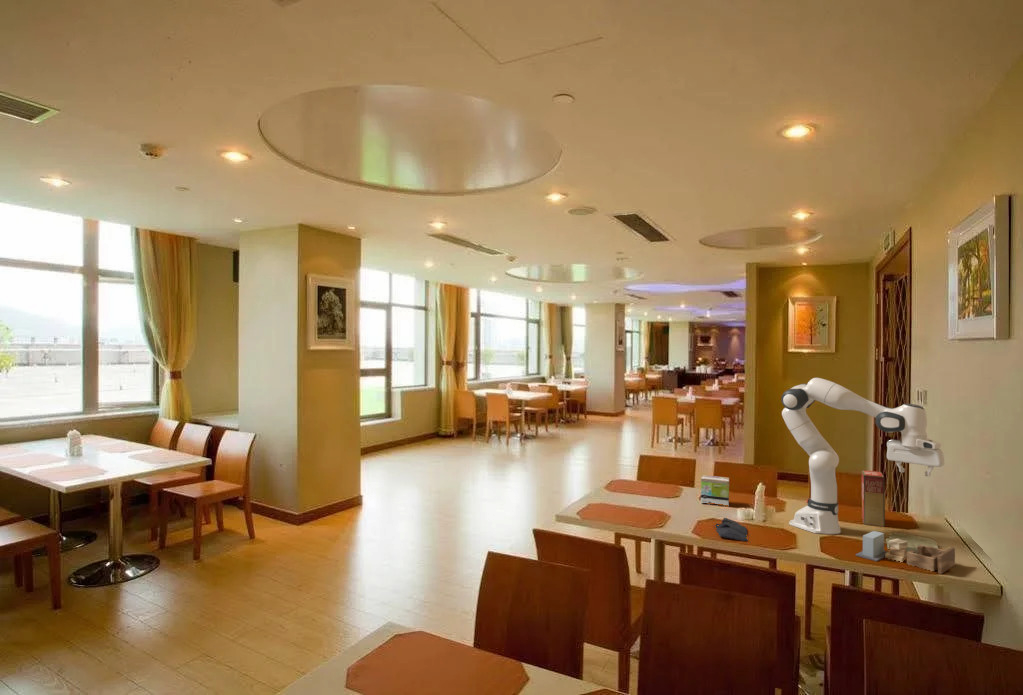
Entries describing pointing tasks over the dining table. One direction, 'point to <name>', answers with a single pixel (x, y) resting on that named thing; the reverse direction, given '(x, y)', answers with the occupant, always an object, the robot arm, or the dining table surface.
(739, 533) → the dark slate chunk
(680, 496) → the dining table surface
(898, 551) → the offcut middle
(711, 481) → the tea box
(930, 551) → the rack
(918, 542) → the decorative tile
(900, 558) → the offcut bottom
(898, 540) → the offcut top
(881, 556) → the mat
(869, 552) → the light blue rectangular block
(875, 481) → the food packaging
